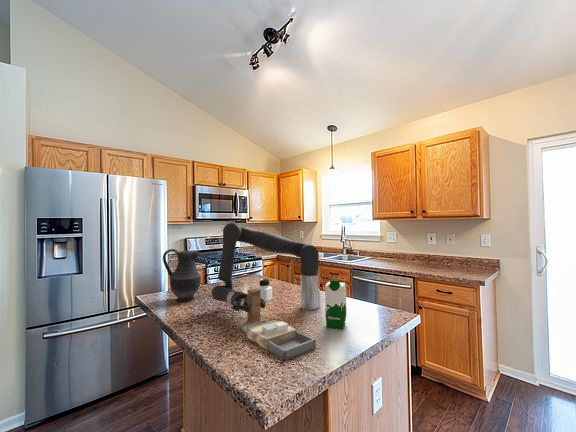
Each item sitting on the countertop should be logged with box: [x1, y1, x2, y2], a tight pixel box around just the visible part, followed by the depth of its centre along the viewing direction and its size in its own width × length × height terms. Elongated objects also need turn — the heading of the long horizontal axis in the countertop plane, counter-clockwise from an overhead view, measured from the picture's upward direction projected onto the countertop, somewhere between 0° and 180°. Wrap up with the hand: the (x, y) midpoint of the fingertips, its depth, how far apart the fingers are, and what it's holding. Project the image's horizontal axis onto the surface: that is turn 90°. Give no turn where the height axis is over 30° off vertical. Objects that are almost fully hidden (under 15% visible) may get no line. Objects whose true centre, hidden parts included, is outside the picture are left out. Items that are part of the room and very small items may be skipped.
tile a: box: [274, 320, 289, 332], centre depth 104 cm, size 4×4×2 cm
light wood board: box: [246, 319, 298, 350], centre depth 104 cm, size 14×14×4 cm
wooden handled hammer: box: [240, 288, 267, 333], centre depth 114 cm, size 4×10×16 cm, turn 129°
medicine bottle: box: [255, 278, 273, 303], centre depth 157 cm, size 7×7×12 cm
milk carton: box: [324, 278, 347, 330], centre depth 117 cm, size 9×9×20 cm
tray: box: [266, 330, 317, 362], centre depth 94 cm, size 10×14×3 cm
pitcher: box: [162, 248, 202, 303], centre depth 157 cm, size 17×21×30 cm
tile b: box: [262, 324, 277, 335], centre depth 101 cm, size 4×4×2 cm
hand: (256, 307), depth 113 cm, fingers open, 7 cm apart
